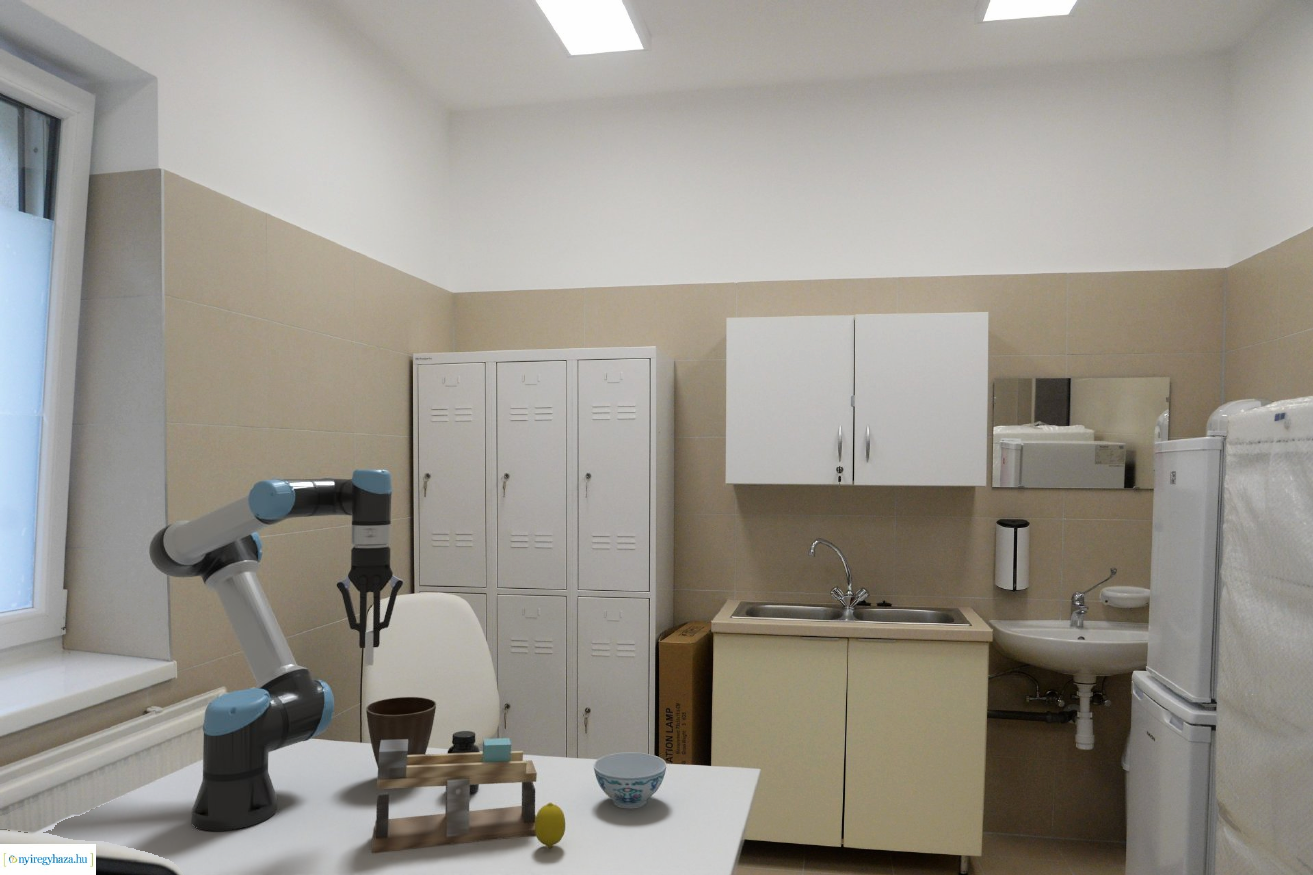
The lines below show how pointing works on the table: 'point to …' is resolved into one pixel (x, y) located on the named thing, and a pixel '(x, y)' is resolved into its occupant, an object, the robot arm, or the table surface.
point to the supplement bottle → (464, 748)
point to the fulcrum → (454, 821)
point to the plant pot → (401, 722)
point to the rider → (496, 750)
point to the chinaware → (630, 777)
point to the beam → (446, 768)
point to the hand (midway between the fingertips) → (369, 663)
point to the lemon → (550, 825)
